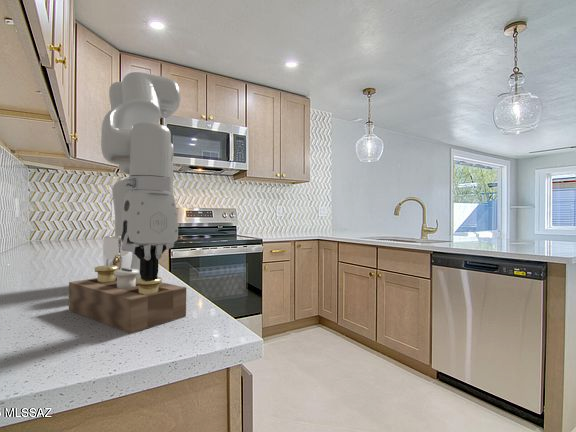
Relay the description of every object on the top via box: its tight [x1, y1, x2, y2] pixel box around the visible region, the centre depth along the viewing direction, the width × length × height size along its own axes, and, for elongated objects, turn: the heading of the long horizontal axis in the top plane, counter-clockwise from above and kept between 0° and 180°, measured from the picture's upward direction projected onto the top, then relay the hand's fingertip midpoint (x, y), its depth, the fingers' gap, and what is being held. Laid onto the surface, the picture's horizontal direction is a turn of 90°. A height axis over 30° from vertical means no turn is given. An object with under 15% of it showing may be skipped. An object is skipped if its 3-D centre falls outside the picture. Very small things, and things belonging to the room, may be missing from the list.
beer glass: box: [102, 235, 133, 270], centre depth 85 cm, size 7×7×15 cm
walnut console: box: [68, 276, 187, 334], centre depth 69 cm, size 24×12×6 cm, turn 57°
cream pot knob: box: [114, 268, 139, 289], centre depth 69 cm, size 5×5×6 cm
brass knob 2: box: [136, 276, 163, 295], centre depth 64 cm, size 5×5×6 cm
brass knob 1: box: [94, 265, 119, 284], centre depth 73 cm, size 5×5×6 cm
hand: (149, 279), depth 64 cm, fingers closed
